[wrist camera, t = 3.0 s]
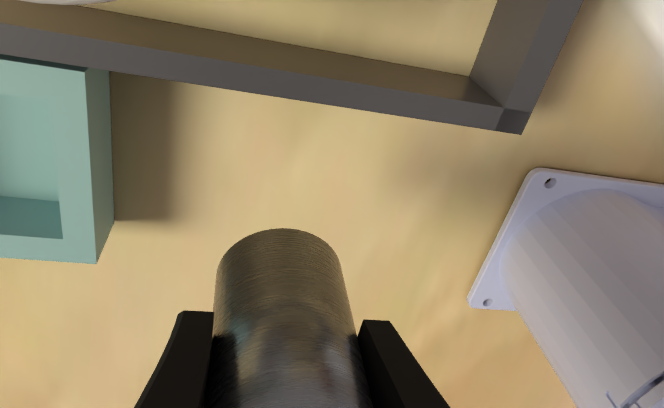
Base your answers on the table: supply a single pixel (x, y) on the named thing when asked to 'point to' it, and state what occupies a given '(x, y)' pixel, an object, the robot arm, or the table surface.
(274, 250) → the rod
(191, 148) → the table surface
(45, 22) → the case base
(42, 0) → the cup
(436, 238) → the table surface
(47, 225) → the square box
